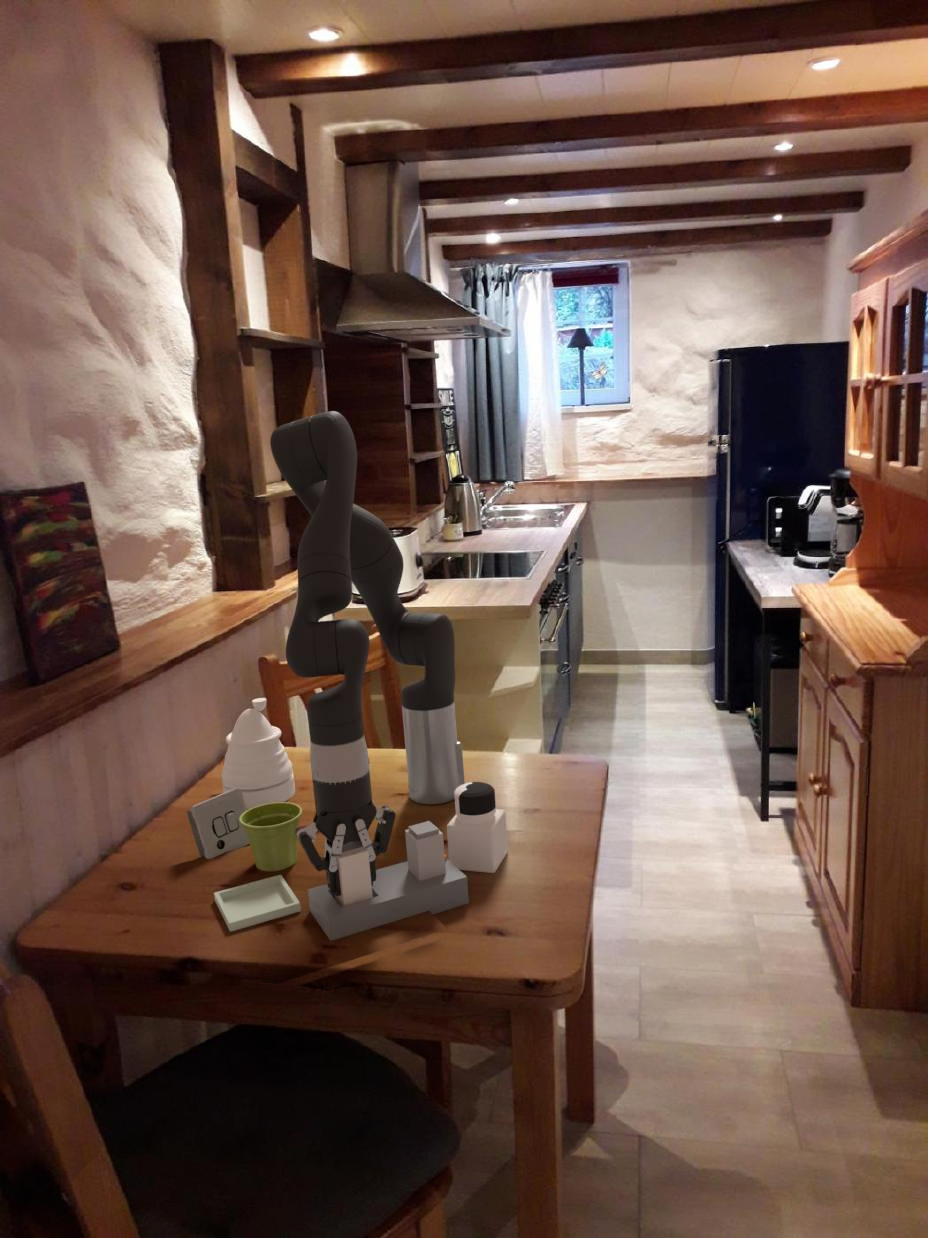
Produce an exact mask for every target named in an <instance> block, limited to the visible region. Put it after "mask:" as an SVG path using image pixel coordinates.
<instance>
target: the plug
mask: <svg viewBox="0 0 928 1238" xmlns="http://www.w3.org/2000/svg"><path fill="white" fill-rule="evenodd" d="M338 871H339V877H340V887H341V895H340V896H336V895H335V899H336V902H337V903H338V904H339V906H340V907H343V906H346V905H350V904H353V903H357V902H360V901H363V900H367V899H370V898H373V895H372V885H371V875H370V864H369V854H368V850H367V849H364V847H363V846H362V845H361V844H360V843H359V841H357V842H349V843H347V844H345V845H343V846H342V852H341V855H340V856H338Z"/></svg>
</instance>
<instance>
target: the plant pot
mask: <svg viewBox="0 0 928 1238" xmlns="http://www.w3.org/2000/svg"><path fill="white" fill-rule="evenodd" d="M302 814H303V809H302V807H301V806H300V805H299V804H296V803H294V802H287V801H285V802H275V803H267V804H262V805H259V806H255V807H253V808H251V809H249V810H247V811H245V812H244V813H242V814H241V816H240V818H239V821H240V823H241V824H242V825H243V827H244V830H245V832H246V833H247V836H248V839H249V842H250V844H249V845H250V850H251V852H252V855H253V859H254V862H255V863H254V864H255V866H256V868H257V869H258V870H260V871H264V872H278V871H283V870H285V869H288V868H290V867H292V866H293V865H294V864H295V863H296V862H297V861H298V838H297V836H296V834H295V831H296V829H297V828H299V823H300V818H301V816H302Z"/></svg>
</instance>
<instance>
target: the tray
mask: <svg viewBox="0 0 928 1238" xmlns="http://www.w3.org/2000/svg"><path fill="white" fill-rule="evenodd" d="M213 895H214V896H213V897H214V902H215V904H216V906H217V908H218V909H219V912H220V914H221V916H222V918H223V920H224V922H225V924H226V926H227V928H228V931H229V932H230V933H231V932H235V931H238V930H241V929H245V928H248V927H252V926H255V925H258V924H262V923H265V922H269V921H272V920H273V921H274V920H276V919H279V918H283V917H286V916H289V915H293V914H296V913H300V912H302V908H301V902H300V900H299V899H298V898H297V896H296V895H295V893H294V892H293V890H292V888H291V887H290V886H289V884H288V883H287V881H286V880H285V879H284V877H283V875H282V874H278V875H274V876H270V877H266V878H263V879H260V880H256V881H252V882H249V883H244V884H241V885H237V886H234V887H230V888H226V889H223V890H219V891H215V892H213Z"/></svg>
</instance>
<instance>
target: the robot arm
mask: <svg viewBox="0 0 928 1238" xmlns="http://www.w3.org/2000/svg"><path fill="white" fill-rule="evenodd" d="M269 441H270V442H269V445H270V449H271V455H272V458H273V460H274V462H275V464H276V467H277V469H278V470H279V472H280V474H281V475H282V477H283V479H284V480H285V481H286V483H287V485H288V486H289V487H290V488H291V490H292V492H293V493H294V494H295V496H296V497H297V498H298V499H299V501H300V503H301V504H302V505H303V506H304V507H305V509H306V510H307V512H308V513H309V514H310V515H311V518H310V520H309V521H308V524H307V526H306V528H305V529H304V531H303V534H302V536H301V539H300V542H299V546H298V548H297V549H298V551H297V560H296V561H297V565H296V566H297V567H296V568H297V600H296V606H295V611H294V614H293V618H292V622H291V624H290V629H289V632H288V634H287V639H286V643H285V659H286V663H287V666H288V667H289V668H290V670H291V672H292V673H293V674H294V675H296V676H297V677H300V678H306V679H307V678H318V677H329V676H330V677H331V676H337V675H338V676H339V675H342V676H343V675H344V678H343V680H342V681H341V682H340V684H338V685H337V686H334V687H331V688H329V689H324V690H323V691H319V692H317V693H315V694H312V695H311V696H310V697H309V698H308V700H307V703H306V716H307V723H308V732H309V742H310V743H309V744H310V746H309V747H310V749H309V758H310V762H309V763H310V769H311V770H310V771H311V779H312V786H313V787H312V789H313V796H314V797H313V798H314V804H315V805H314V806H315V814H314V816H313V819H312V823H310V824H308V825H307V826H305V827H301V826H300V827H299V826H298V828H297V829H296V831H295V834H296V836H297V841H299V844H300V845H301V847H302V849H303V851H304V853H305V854H306V856H307V858H308V860H309V862H310V863H311V865H312V866H313V867H314V868H315V870H316V871H317V872H322V871H325V875H326V884H327V885H328V887H329V889H330V890H331V892H332V893H335V895H336V896H340V895H341V887H340V877H339V871H338V856H340V855H341V852H342V846H343V845H345V844H347V843H349V842H357V841H359V843H360V844H361V845H362V846H363V847H364V849H367V850H368V854H369V864H370V875H371V885H372V886H373V881H376V870H377V869H376V859H377V856H379V855H380V854H385V853H387V851H388V849H389V844H390V842H391V841H390V840H391V836H392V832H393V828H394V823H395V819H396V814H397V813H396V812H395V811H394V809H392V808H391V807H390V806H389V805H386V804H385V805H382V807H380V806H379V807H378V806H376V805H375V804H374V802H373V793H372V792H373V791H372V783H371V772H370V763H371V762H370V757H369V753H368V746H367V742H366V738H365V737H366V736H365V731H364V720H363V719H364V718H363V707H362V700H363V699H362V696H363V695H362V694H363V684H364V678H365V673H366V668H367V665H368V658H369V654H370V653H369V652H370V645H371V644H370V643H371V642H370V636H369V633H368V631H367V629H366V627H365V625H363V623H362V622H360V621H359V620H357V619H352V618H344V619H336V620H335V619H334V620H331V619H330V620H322V621H320V620H321V619H323V618H325V617H327V616H329V615H333V614H335V613H339V612H341V611H343V610H345V609H346V608H347V607H349V605H350V604H351V602H352V597H353V589H352V588H353V586H352V584H353V585H354V588H355V589H356V591H357V592H358V594H359V596H360V597H361V600H362V601H363V602H364V605H365V607H366V609H367V610H368V612H369V614H370V616H371V618H372V619H373V622H374V624H375V627H376V629H377V631H378V633H379V636H380V638H381V640H382V642H383V645H384V647H385V648H386V651H387V654H389V656H390V657H391V659H392V660H394V661H395V662H396V663H399V664H400V665H405V666H417V667H418V666H419V667H424V678H423V679H420V680H417V681H414V682H411V683H408V684H407V685H406V686H403V688H402V689H401V692H400V698H401V709H402V710H401V712H402V722H403V734H404V745H405V757H406V769H407V781H408V783H407V784H408V790H409V791H408V792H409V799H411V801H412V802H415V803H417V804H421V805H440V804H445V803H448V802H452V801H455V796H454V792H455V790H456V789H457V788H458V787H459V786H461V785H463V784H466V783H465V770H464V768H465V766H464V757H463V756H464V754H463V743H462V742H461V741H459V740H458V735H457V733H458V732H457V720H456V711H455V710H456V707H455V686H456V652H455V651H456V650H455V649H456V648H455V647H456V642H455V640H456V639H455V631H454V625H453V624H452V621H451V620H450V618H449V616H447V615H446V614H443V613H439V612H437V613H436V612H417V611H415V612H413V611H410V610H409V609H407V608H406V607H405V605H404V604H403V602H402V601H401V598H400V597H399V594H398V592H399V588H400V585H401V581H402V577H403V573H404V557H403V554H402V553H401V550H400V548H399V546H398V543H397V542H396V540H395V538H394V536H393V534H392V532H391V531H390V529H389V527H388V526H387V525H386V524H385V522H384V521H383V520H381V519H380V518H379V517H378V516H376V515H374V514H373V513H372V512H370V511H368V510H367V509H365V508H363V507H361V506H359V505H357V504H356V503H354V499H355V490H356V480H357V471H358V470H357V467H358V451H357V443H356V439H355V434H354V433H353V430H352V428H351V426H350V423H349V421H348V420H347V418H346V417H345V416H344V415H342V413H340V412H338V411H336V410H335V411H334V410H330V411H325V412H320V413H317V414H314V415H310V416H307V417H303V418H299V419H297V420H294V421H291V422H288V423H284V424H282V425H279V426H277V428H275V429H274V430H273V431H272V433H271V436H270V440H269ZM374 820H376V822H377V824H376V825H377V826H376V829H375V832H374V837H373V842H372V840H371V838H370V835H369V832H368V830H369V829H370V827H371V825H372V824H373V822H374ZM317 832H319V833H320V834H322V835H323V836H324V837H325V838H324V840H325V841H324V856H320V854H319V852H318V850H317V848H316V846H315V844H314V843H315V842H316V841H317V836H316V834H317Z"/></svg>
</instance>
